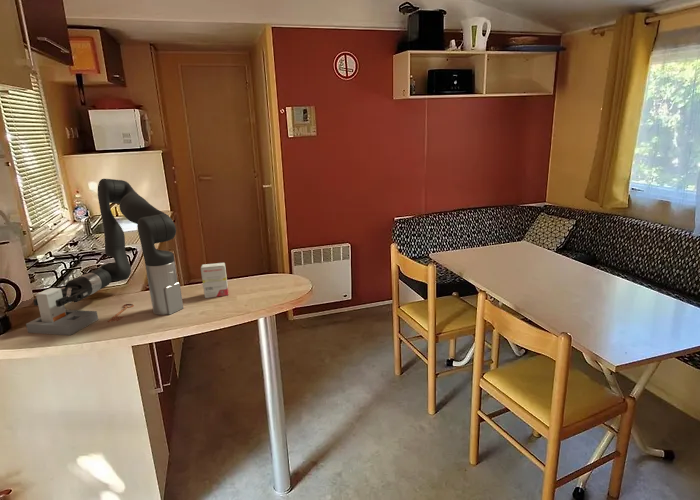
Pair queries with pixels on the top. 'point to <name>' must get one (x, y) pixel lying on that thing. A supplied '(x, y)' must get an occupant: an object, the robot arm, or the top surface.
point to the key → (120, 313)
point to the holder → (64, 323)
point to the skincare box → (50, 305)
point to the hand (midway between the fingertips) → (45, 303)
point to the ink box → (214, 280)
